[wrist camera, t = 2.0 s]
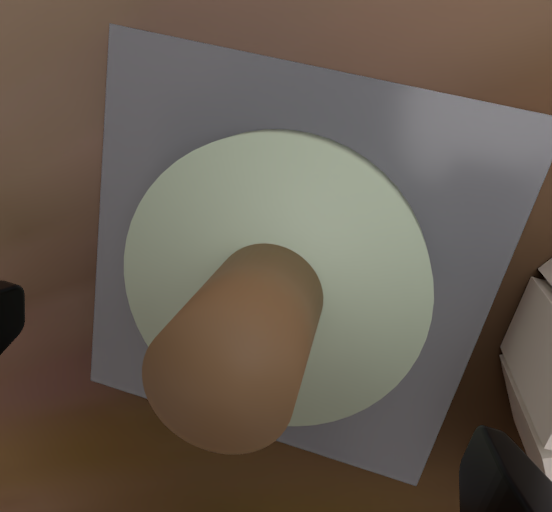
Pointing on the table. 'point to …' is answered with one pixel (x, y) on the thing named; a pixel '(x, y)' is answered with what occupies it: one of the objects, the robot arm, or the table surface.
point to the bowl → (532, 369)
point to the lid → (274, 288)
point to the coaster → (367, 142)
